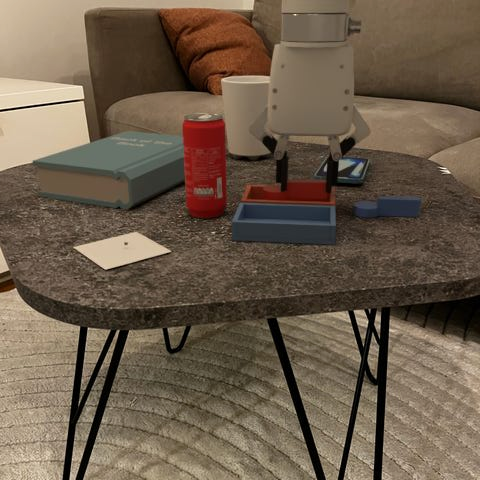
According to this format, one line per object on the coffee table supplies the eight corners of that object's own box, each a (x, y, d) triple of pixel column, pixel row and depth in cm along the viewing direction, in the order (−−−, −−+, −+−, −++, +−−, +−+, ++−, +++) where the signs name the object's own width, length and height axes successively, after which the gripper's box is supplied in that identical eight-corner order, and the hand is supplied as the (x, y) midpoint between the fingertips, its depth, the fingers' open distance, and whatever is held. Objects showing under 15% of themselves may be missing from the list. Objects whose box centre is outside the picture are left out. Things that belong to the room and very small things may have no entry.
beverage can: (180, 216, 75) (174, 118, 70) (197, 205, 80) (193, 112, 74) (217, 221, 74) (214, 121, 68) (232, 209, 78) (231, 114, 72)
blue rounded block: (416, 211, 77) (418, 194, 76) (419, 219, 74) (422, 202, 73) (352, 209, 78) (353, 192, 77) (353, 217, 75) (354, 200, 74)
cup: (267, 164, 99) (269, 83, 93) (213, 160, 102) (211, 81, 96) (285, 152, 107) (287, 76, 101) (234, 148, 110) (233, 74, 104)
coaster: (72, 247, 66) (71, 240, 66) (136, 231, 70) (135, 225, 70) (105, 269, 60) (104, 262, 60) (171, 251, 65) (171, 244, 64)
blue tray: (334, 223, 73) (335, 205, 72) (334, 245, 66) (336, 225, 65) (239, 220, 74) (239, 202, 73) (231, 240, 68) (231, 221, 67)
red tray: (333, 204, 80) (334, 187, 79) (333, 221, 73) (335, 203, 72) (247, 201, 81) (247, 184, 80) (240, 218, 75) (240, 200, 74)
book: (129, 161, 102) (127, 131, 99) (212, 170, 96) (211, 138, 93) (38, 196, 84) (32, 160, 81) (133, 210, 78) (129, 172, 75)
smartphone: (370, 158, 99) (363, 179, 86) (370, 164, 99) (362, 186, 86) (326, 155, 101) (312, 176, 88) (326, 161, 101) (312, 182, 88)
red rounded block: (326, 194, 77) (327, 177, 76) (326, 202, 74) (327, 184, 73) (264, 193, 78) (264, 176, 77) (261, 201, 75) (261, 184, 74)
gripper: (387, 30, 69) (371, 183, 78) (243, 30, 71) (243, 179, 80) (394, 33, 63) (375, 200, 71) (235, 33, 65) (236, 195, 73)
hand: (306, 187), depth 76 cm, fingers closed on red rounded block, 5 cm apart
